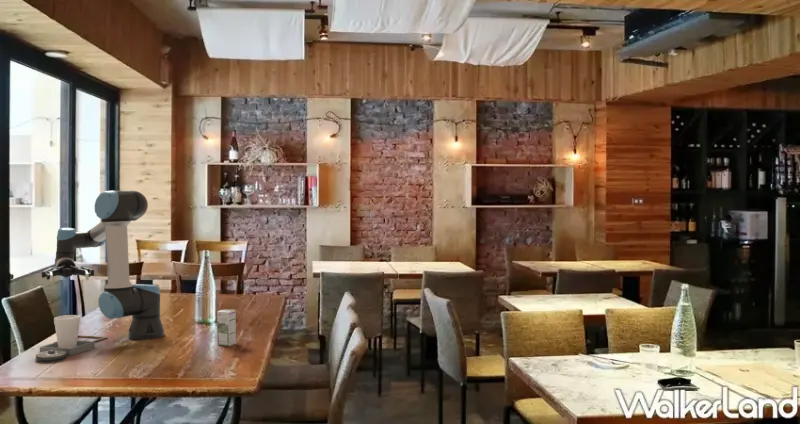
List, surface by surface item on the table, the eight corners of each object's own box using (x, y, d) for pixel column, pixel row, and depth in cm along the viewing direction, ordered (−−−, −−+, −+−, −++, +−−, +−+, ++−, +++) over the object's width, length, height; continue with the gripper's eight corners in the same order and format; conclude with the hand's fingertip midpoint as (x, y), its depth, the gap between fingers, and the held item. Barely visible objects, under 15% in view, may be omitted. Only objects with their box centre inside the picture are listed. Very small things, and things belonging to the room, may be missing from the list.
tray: (94, 347, 289) (94, 341, 289) (70, 355, 276) (70, 349, 276) (64, 345, 293) (64, 339, 293) (39, 353, 279) (39, 347, 279)
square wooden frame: (107, 338, 307) (107, 336, 307) (84, 346, 292) (84, 344, 292) (77, 336, 310) (77, 335, 310) (53, 344, 296) (53, 342, 296)
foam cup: (69, 352, 279) (69, 319, 278) (49, 351, 281) (48, 318, 280) (85, 347, 288) (84, 315, 288) (65, 345, 290) (64, 314, 289)
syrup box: (236, 343, 298) (236, 309, 298) (228, 346, 293) (228, 311, 292) (224, 342, 300) (224, 308, 300) (216, 345, 295) (216, 311, 294)
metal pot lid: (72, 357, 274) (72, 347, 273) (53, 363, 263) (53, 354, 263) (49, 355, 276) (49, 346, 276) (29, 361, 266) (29, 352, 266)
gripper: (96, 274, 317) (101, 285, 299) (34, 276, 305) (35, 287, 287) (96, 258, 316) (102, 267, 298) (34, 259, 304) (36, 269, 286)
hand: (69, 277), depth 292 cm, fingers open, 13 cm apart
